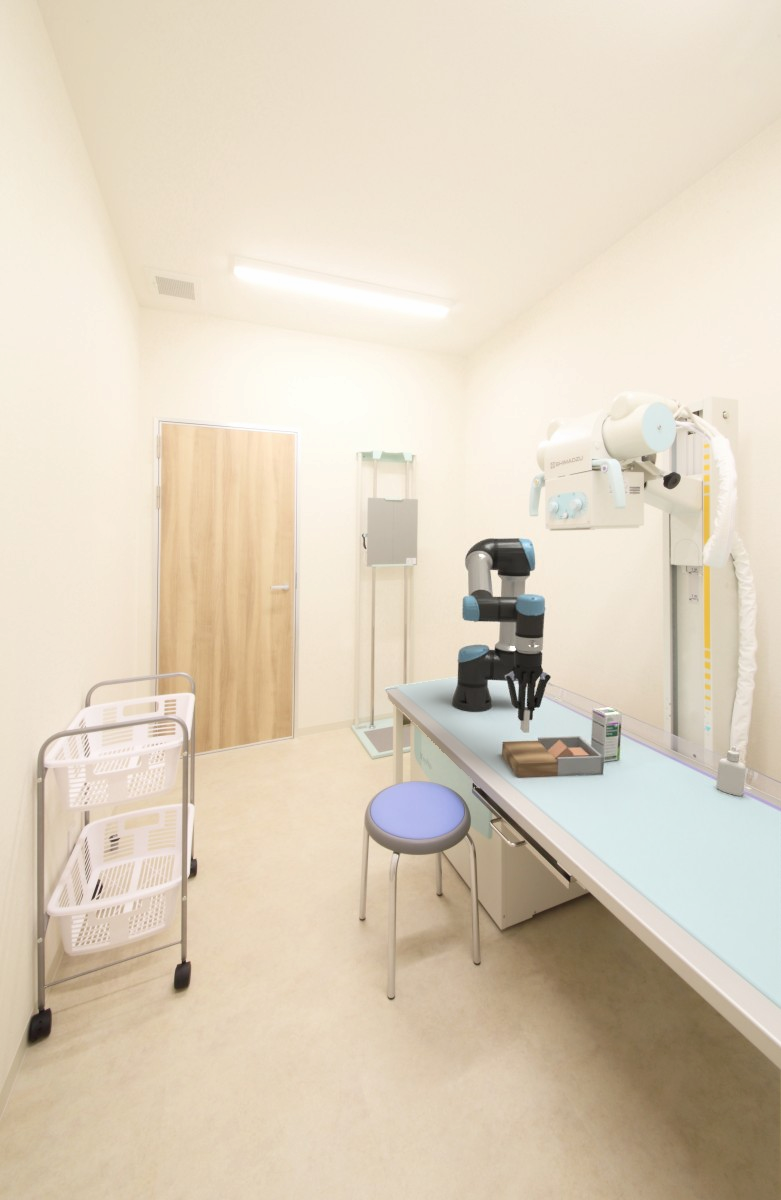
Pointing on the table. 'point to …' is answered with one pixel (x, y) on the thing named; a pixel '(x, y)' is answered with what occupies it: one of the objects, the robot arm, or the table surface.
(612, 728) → the syrup box
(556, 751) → the tile
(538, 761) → the board
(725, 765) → the eye dropper bottle
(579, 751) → the tile
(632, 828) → the table surface
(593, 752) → the bin
